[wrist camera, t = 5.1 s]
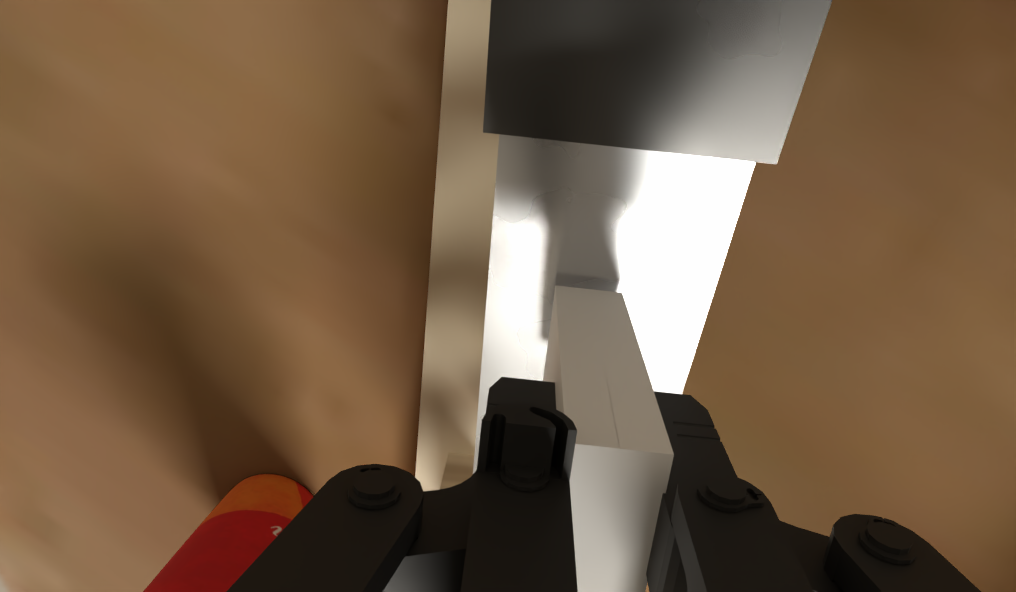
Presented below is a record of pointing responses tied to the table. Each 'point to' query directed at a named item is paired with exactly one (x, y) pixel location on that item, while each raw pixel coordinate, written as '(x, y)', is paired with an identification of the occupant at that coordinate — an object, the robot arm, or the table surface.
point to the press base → (458, 255)
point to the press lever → (628, 160)
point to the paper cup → (233, 535)
